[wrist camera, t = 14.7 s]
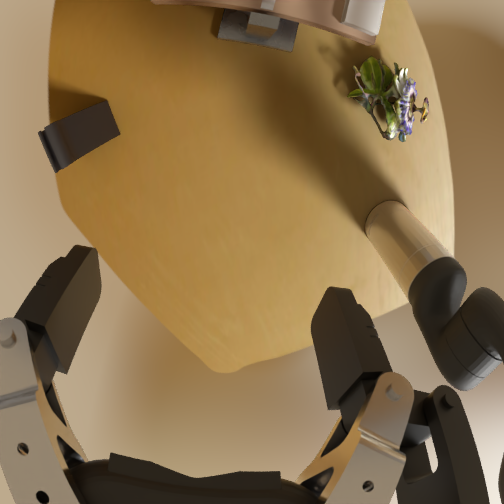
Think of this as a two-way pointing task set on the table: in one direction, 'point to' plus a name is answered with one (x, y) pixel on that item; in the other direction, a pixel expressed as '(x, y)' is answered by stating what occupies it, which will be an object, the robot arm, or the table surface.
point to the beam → (312, 13)
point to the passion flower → (402, 88)
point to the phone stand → (78, 134)
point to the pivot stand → (258, 29)
